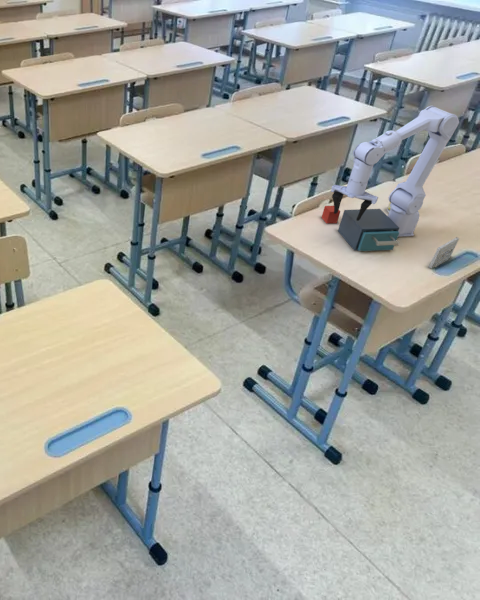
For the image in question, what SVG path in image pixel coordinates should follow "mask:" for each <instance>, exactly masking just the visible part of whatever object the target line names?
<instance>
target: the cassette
mask: <svg viewBox="0 0 480 600" xmlns="http://www.w3.org/2000/svg"><path fill="white" fill-rule="evenodd" d="M459 240H460V238H459V237H457V236H456V237H454V238H453V239H451V240H448V241H447V242H445V243H444V244H442V245H440V246H439V247H437V248H436V251H435V253H434V255H433V256H432V259H431V262H430V263H429V265H428V268H429V269H434V268H436V267H439V266H440V265H442V264H444V263H445V262H447V261H448V260H449V259H450V258H451V257H452V255H453V252H454V250H455V249H456V247H457V244H458V242H459Z"/></svg>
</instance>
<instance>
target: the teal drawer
mask: <svg viewBox="0 0 480 600" xmlns="http://www.w3.org/2000/svg"><path fill="white" fill-rule="evenodd" d="M398 235H399V232H398V231H393V230H378V231H363V234H362V237H361V239H360V242H359V245H358V246H359V247H358V252H370V251H371V252H373V251H393V250H394V247H395V246H398V245H399V244H400V242H399V240H398V238H399V237H398Z"/></svg>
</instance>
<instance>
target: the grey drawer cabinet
mask: <svg viewBox="0 0 480 600" xmlns="http://www.w3.org/2000/svg"><path fill="white" fill-rule="evenodd" d="M359 212H360V208H358V209H357V208H356V209H344V210H343V212H342V215H341V219H340V223H339V225H338V229H337V232H338V233H339V234H340V236H342V238H343V239H344V241H346V242H347V244H348V245H349V247H351V248H352V250H353V251H354V252H355V251H356V252H357V251H358V252H359V250H358V247H359V246H358V245H359V242H360V239H361V237H362V234H363V231H378V230H393V231H398V230H399V227H398V226H397V225H396V224H395V223H394V222H393V221H392V220H391V219H390V218H389V217H388V214H387V213H385V212H384V211H383V210H382V209H381V208H367V209H366V211H365V212H364V213H363V215H362V217H361V219H360V220H359V221H357V217H358V214H359Z"/></svg>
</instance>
